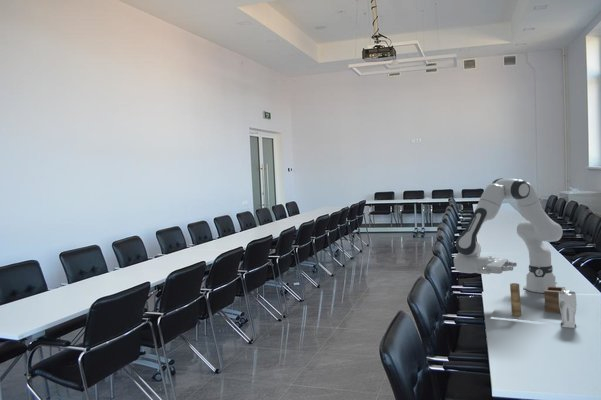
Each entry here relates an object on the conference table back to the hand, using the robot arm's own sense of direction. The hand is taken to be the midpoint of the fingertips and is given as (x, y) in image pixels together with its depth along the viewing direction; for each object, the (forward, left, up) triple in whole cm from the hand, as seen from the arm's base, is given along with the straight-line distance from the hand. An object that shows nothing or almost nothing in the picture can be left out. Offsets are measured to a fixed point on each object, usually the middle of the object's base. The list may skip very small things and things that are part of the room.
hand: (514, 266), depth 245 cm
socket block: (0, +18, -20) cm, 27 cm away
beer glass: (+20, +24, -22) cm, 38 cm away
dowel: (+15, +2, -21) cm, 26 cm away
